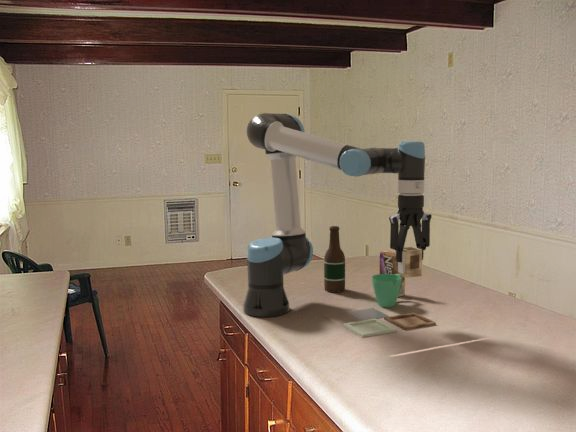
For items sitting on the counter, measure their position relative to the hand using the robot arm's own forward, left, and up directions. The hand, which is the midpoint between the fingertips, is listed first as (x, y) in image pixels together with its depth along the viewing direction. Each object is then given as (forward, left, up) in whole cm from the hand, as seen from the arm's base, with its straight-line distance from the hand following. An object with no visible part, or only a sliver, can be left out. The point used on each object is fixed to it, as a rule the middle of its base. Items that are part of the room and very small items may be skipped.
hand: (409, 271), depth 169 cm
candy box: (+14, +30, -16) cm, 37 cm away
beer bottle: (-2, +44, -16) cm, 47 cm away
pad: (-7, +12, -16) cm, 21 cm away
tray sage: (-14, 0, -16) cm, 21 cm away
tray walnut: (0, 0, -16) cm, 16 cm away
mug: (+6, +19, -16) cm, 26 cm away
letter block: (0, 0, -1) cm, 1 cm away
